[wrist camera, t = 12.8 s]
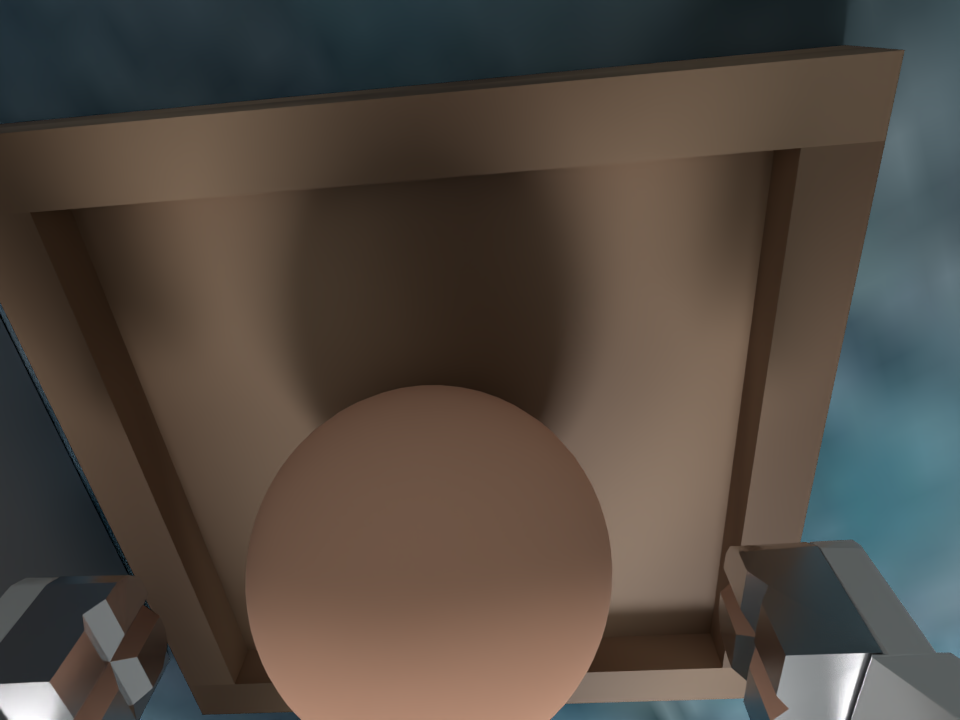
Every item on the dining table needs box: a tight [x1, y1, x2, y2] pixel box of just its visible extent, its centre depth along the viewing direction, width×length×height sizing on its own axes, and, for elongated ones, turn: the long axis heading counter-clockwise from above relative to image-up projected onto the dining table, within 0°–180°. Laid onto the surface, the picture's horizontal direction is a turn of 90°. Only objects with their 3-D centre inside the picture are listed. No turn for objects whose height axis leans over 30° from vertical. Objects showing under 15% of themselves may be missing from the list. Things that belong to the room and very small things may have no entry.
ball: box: [245, 385, 613, 720], centre depth 9 cm, size 5×5×5 cm
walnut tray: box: [0, 45, 904, 715], centre depth 11 cm, size 12×12×1 cm
